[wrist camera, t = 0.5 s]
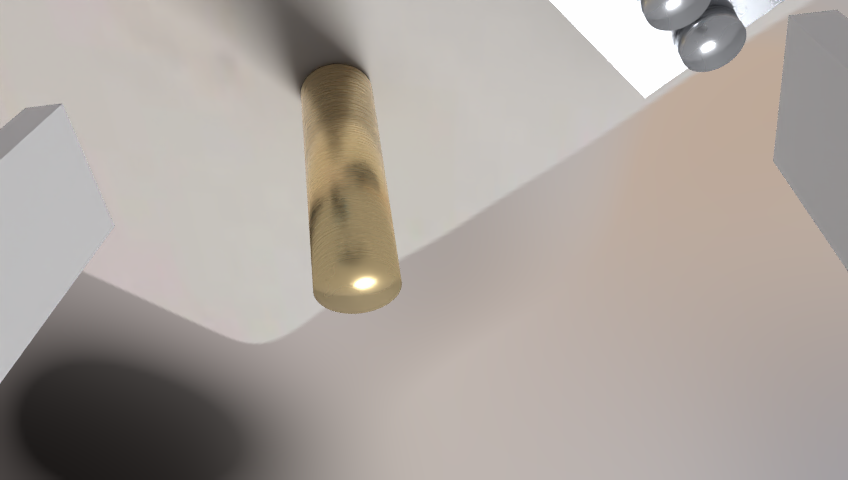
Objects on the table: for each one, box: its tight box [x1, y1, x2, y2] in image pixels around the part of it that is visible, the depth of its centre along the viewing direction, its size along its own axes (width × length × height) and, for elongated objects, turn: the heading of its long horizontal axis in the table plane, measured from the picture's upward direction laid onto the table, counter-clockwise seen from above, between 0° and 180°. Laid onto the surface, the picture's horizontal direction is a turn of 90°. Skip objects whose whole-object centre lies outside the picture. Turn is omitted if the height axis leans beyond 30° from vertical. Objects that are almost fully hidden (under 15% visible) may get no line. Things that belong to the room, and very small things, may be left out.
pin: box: [301, 64, 402, 314], centre depth 32 cm, size 3×3×11 cm
